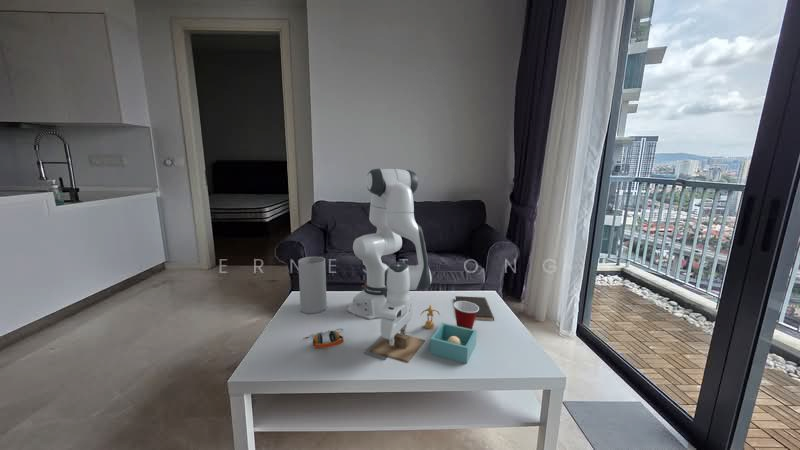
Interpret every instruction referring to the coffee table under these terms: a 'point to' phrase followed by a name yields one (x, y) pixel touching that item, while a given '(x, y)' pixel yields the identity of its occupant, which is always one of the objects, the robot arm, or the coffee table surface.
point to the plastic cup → (465, 313)
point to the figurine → (429, 323)
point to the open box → (453, 350)
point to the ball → (454, 340)
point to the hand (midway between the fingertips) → (397, 338)
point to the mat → (374, 353)
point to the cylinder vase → (312, 284)
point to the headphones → (333, 338)
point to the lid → (398, 347)
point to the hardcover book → (483, 306)
